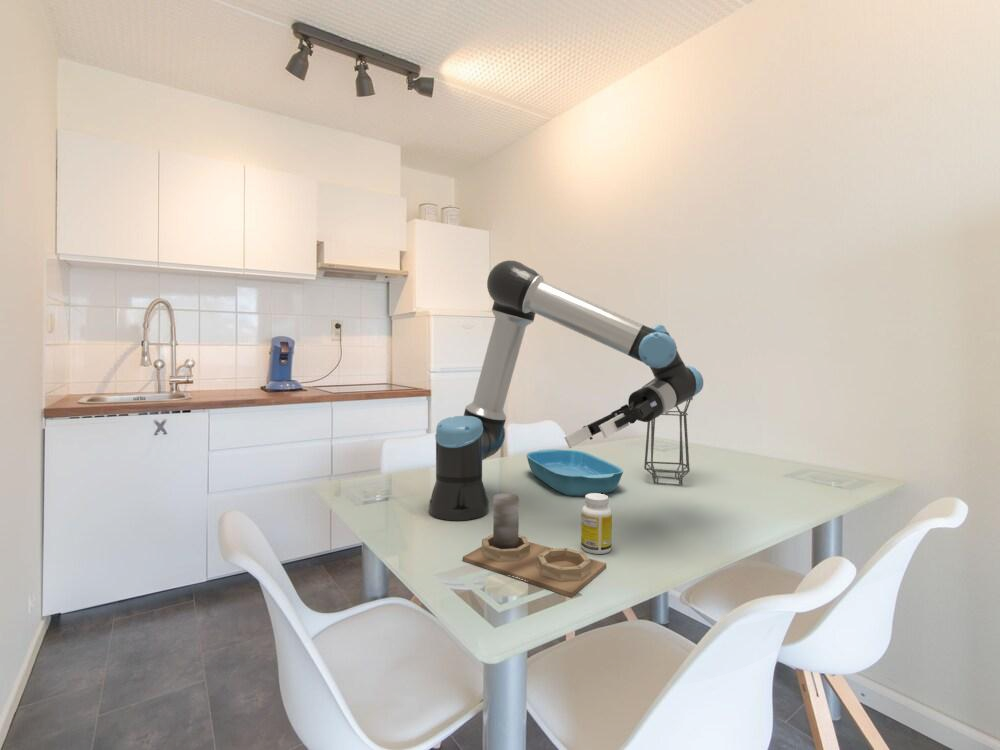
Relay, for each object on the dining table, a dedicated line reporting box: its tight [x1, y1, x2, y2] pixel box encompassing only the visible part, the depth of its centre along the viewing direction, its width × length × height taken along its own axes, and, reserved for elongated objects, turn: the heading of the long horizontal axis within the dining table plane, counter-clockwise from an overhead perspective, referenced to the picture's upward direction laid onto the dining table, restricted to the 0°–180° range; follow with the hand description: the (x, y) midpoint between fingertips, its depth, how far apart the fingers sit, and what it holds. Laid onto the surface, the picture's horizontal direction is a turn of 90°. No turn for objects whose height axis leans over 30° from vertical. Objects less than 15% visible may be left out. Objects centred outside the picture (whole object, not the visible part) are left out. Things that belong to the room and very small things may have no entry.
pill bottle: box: [580, 493, 613, 555], centre depth 101 cm, size 6×6×11 cm
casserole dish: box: [526, 448, 624, 497], centre depth 152 cm, size 37×22×7 cm, turn 18°
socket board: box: [462, 492, 607, 598], centre depth 93 cm, size 24×14×12 cm, turn 54°
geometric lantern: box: [641, 377, 694, 486], centre depth 154 cm, size 16×16×35 cm
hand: (584, 437), depth 104 cm, fingers open, 13 cm apart
